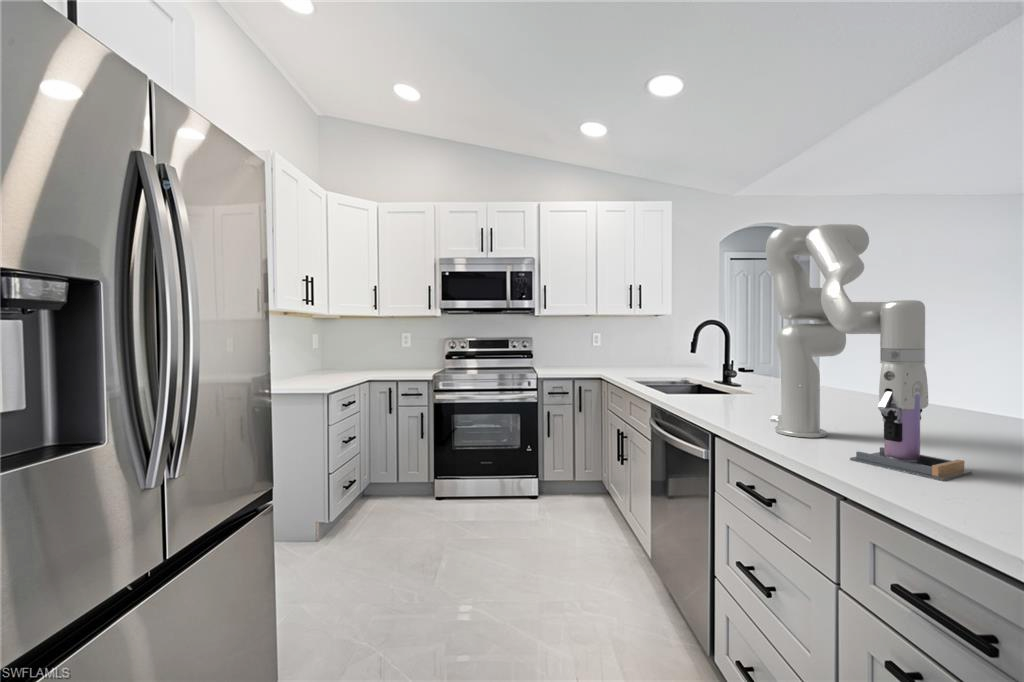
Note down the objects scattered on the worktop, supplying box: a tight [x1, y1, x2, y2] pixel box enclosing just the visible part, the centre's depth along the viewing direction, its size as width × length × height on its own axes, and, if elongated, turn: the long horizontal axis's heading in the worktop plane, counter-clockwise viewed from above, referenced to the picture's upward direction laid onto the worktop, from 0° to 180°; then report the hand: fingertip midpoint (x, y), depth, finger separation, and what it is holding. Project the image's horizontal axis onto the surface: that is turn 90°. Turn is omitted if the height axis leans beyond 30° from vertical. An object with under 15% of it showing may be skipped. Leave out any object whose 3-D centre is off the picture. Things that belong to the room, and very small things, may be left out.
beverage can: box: [884, 392, 921, 462], centre depth 102 cm, size 6×6×15 cm
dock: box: [849, 446, 973, 482], centre depth 101 cm, size 17×11×2 cm, turn 24°
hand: (901, 438), depth 102 cm, fingers closed on beverage can, 5 cm apart
